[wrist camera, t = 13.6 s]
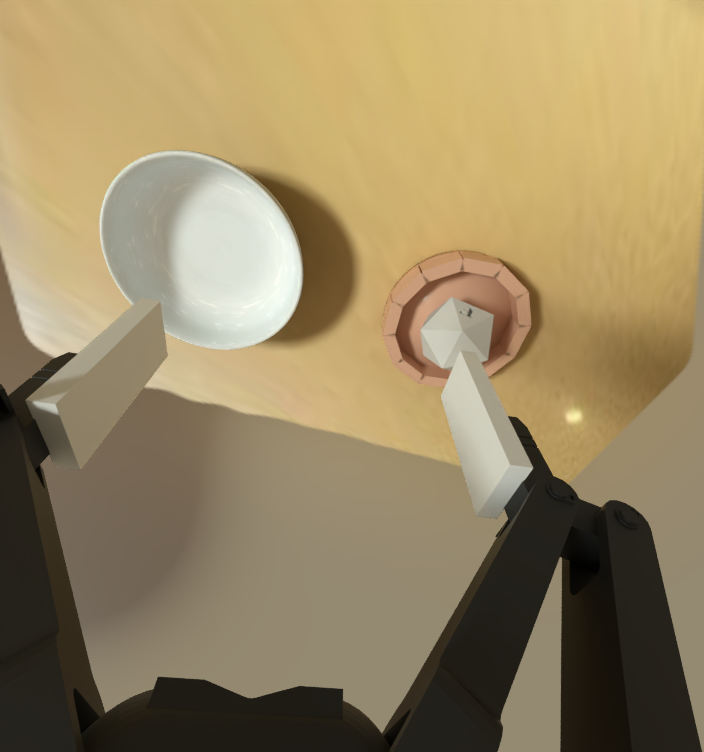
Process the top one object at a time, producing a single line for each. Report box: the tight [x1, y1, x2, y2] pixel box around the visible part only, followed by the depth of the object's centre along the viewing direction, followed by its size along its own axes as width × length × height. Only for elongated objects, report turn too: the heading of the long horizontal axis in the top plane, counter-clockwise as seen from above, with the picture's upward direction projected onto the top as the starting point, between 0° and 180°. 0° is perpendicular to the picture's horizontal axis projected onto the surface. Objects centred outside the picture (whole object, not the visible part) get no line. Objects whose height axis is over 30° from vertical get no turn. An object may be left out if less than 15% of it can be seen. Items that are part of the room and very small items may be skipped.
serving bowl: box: [99, 150, 304, 350], centre depth 41 cm, size 21×21×7 cm
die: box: [420, 297, 494, 370], centre depth 45 cm, size 8×9×10 cm
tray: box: [382, 251, 531, 388], centre depth 48 cm, size 18×18×4 cm
